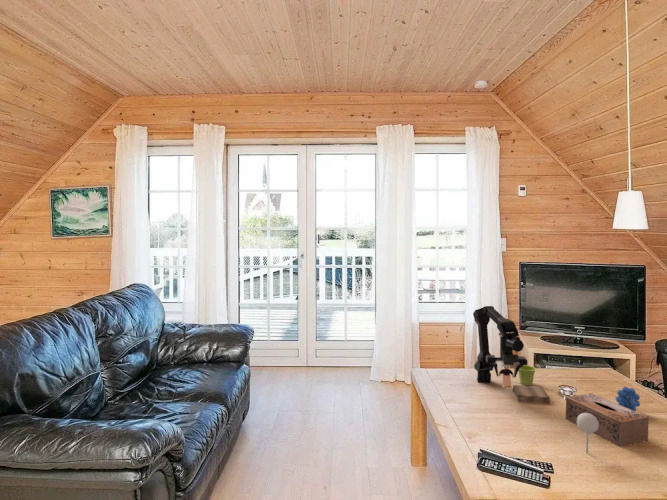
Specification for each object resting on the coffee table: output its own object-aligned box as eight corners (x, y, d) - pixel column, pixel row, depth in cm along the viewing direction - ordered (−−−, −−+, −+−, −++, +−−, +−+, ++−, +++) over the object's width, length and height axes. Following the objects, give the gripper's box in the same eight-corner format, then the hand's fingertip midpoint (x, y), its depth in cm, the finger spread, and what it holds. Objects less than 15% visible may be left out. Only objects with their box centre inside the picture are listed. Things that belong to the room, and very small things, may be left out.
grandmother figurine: (511, 385, 216) (512, 360, 216) (515, 388, 212) (515, 362, 212) (496, 385, 216) (496, 360, 215) (499, 388, 212) (500, 363, 212)
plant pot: (512, 382, 234) (513, 366, 234) (525, 379, 238) (525, 364, 238) (527, 387, 226) (527, 371, 225) (539, 385, 230) (539, 369, 229)
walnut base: (518, 401, 209) (518, 395, 208) (512, 390, 222) (512, 384, 222) (549, 403, 206) (549, 397, 205) (541, 392, 219) (541, 386, 219)
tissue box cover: (647, 441, 169) (648, 416, 168) (620, 447, 165) (621, 422, 164) (590, 414, 194) (591, 393, 193) (565, 419, 189) (566, 397, 189)
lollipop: (578, 446, 166) (578, 408, 165) (599, 451, 161) (600, 412, 160) (574, 453, 160) (575, 414, 159) (596, 459, 156) (597, 419, 155)
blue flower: (623, 417, 190) (623, 390, 189) (611, 411, 197) (612, 385, 196) (647, 415, 191) (647, 389, 191) (634, 409, 198) (635, 384, 197)
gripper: (489, 349, 207) (488, 381, 208) (530, 351, 203) (529, 383, 204) (485, 343, 218) (485, 373, 219) (525, 345, 214) (524, 375, 215)
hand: (506, 376), depth 214 cm, fingers closed on grandmother figurine, 8 cm apart
